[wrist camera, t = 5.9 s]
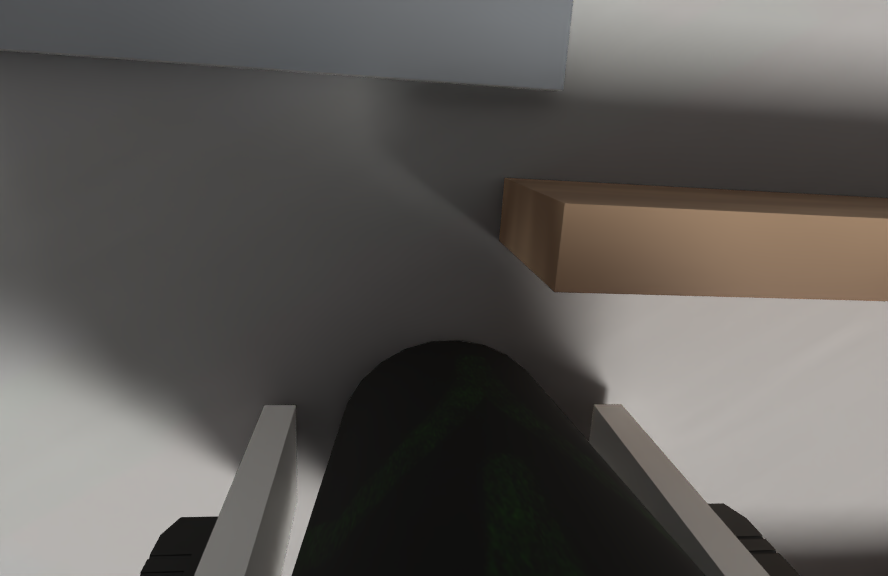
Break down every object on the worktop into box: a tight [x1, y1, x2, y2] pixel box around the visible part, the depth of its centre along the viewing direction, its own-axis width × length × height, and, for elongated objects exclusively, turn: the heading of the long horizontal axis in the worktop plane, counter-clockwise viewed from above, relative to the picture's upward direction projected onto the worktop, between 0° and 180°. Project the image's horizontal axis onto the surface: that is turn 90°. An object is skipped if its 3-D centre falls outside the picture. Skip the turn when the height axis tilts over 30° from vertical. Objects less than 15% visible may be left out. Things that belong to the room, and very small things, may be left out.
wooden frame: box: [499, 178, 888, 301], centre depth 15 cm, size 14×20×4 cm
